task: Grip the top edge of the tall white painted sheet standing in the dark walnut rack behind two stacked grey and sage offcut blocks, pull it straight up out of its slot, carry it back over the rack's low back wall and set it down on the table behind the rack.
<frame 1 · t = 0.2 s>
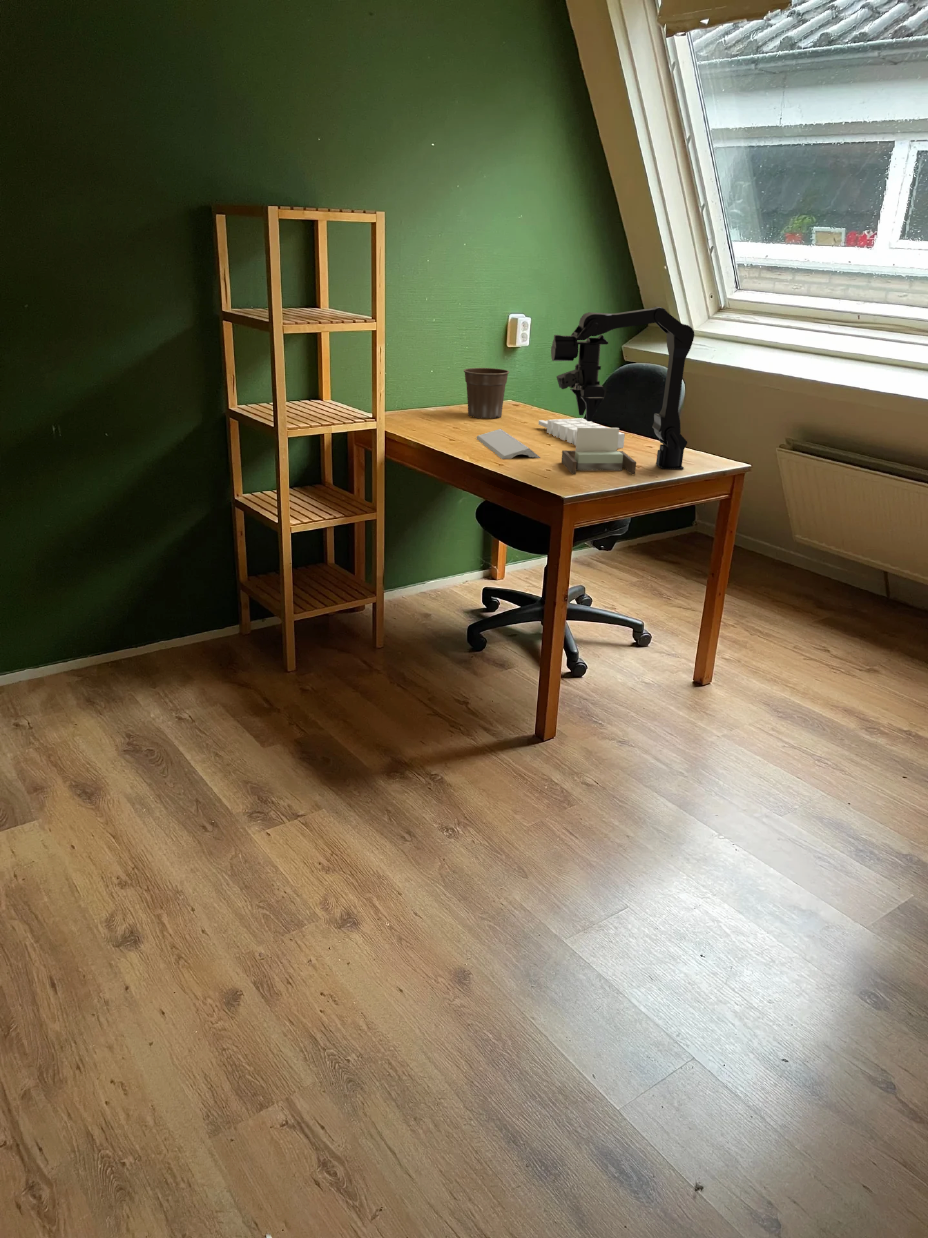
hand: (584, 418, 254), 14 cm above the table, tool pointing down, fingers open, 9 cm apart
organizer: (577, 439, 297), on the table
rack: (597, 468, 258), on the table
sheet: (594, 465, 261), resting in rack
offcut lower: (597, 470, 258), on the table, touching offcut upper
plant pot: (484, 416, 327), on the table
crown molding: (506, 450, 280), on the table
offcut upper: (598, 461, 257), point 2 cm above the table, touching offcut lower
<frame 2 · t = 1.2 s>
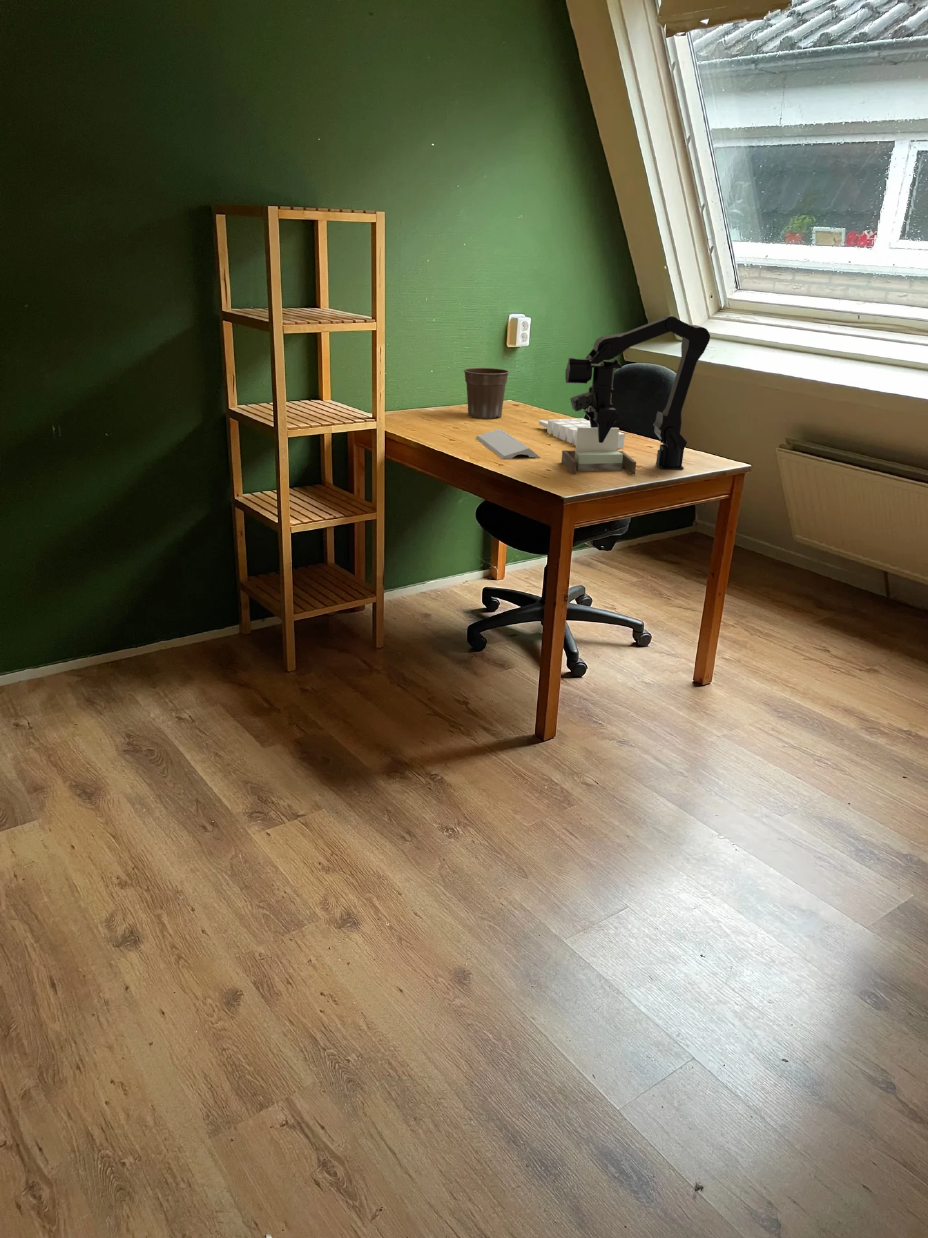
hand: (597, 439, 258), 8 cm above the table, tool pointing down, fingers open, 7 cm apart
nothing on the table moved.
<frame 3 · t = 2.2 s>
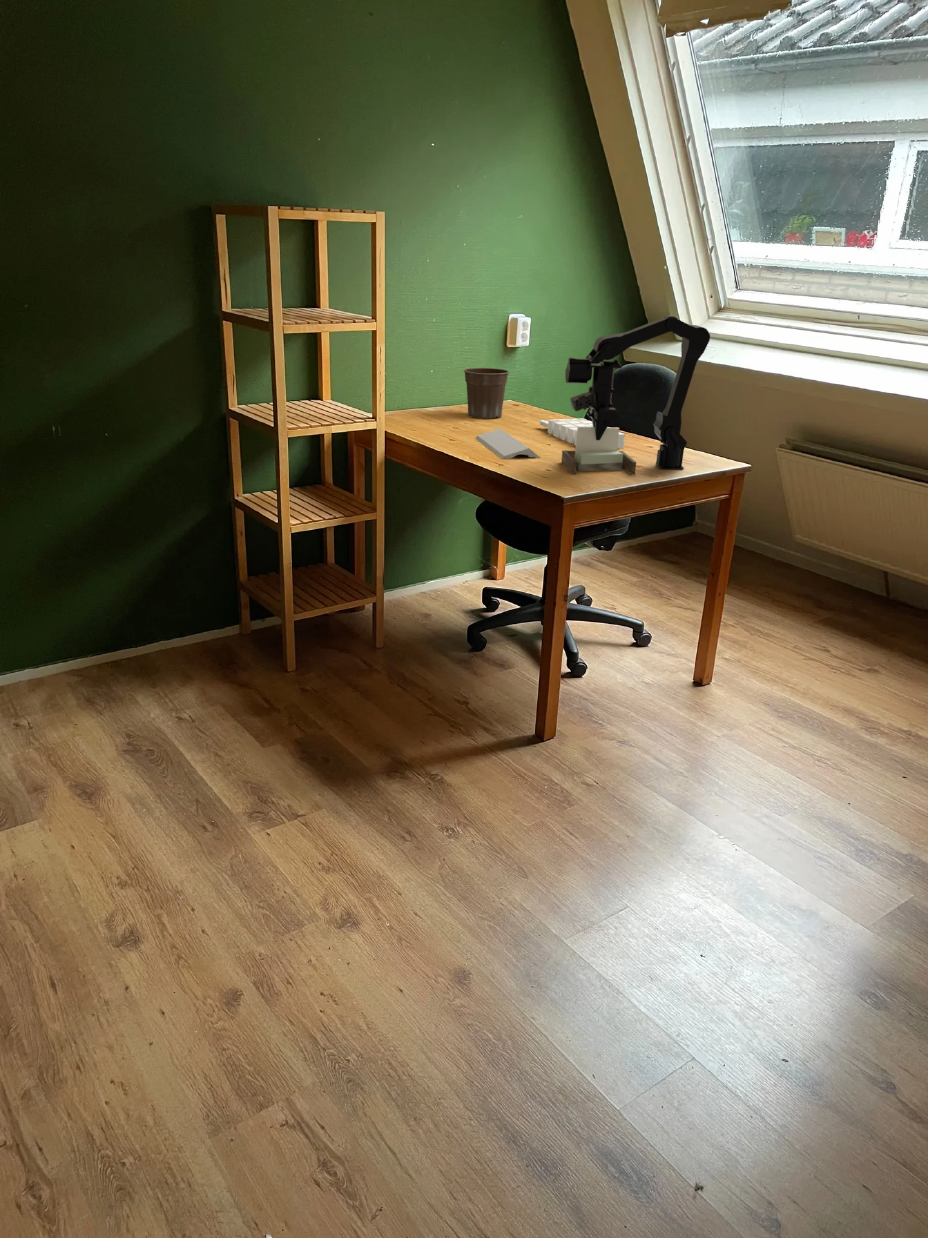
hand: (597, 439, 258), 8 cm above the table, tool pointing down, fingers closed on sheet, 1 cm apart
sheet: (594, 465, 261), resting in rack, touching gripper
everything else where it was.
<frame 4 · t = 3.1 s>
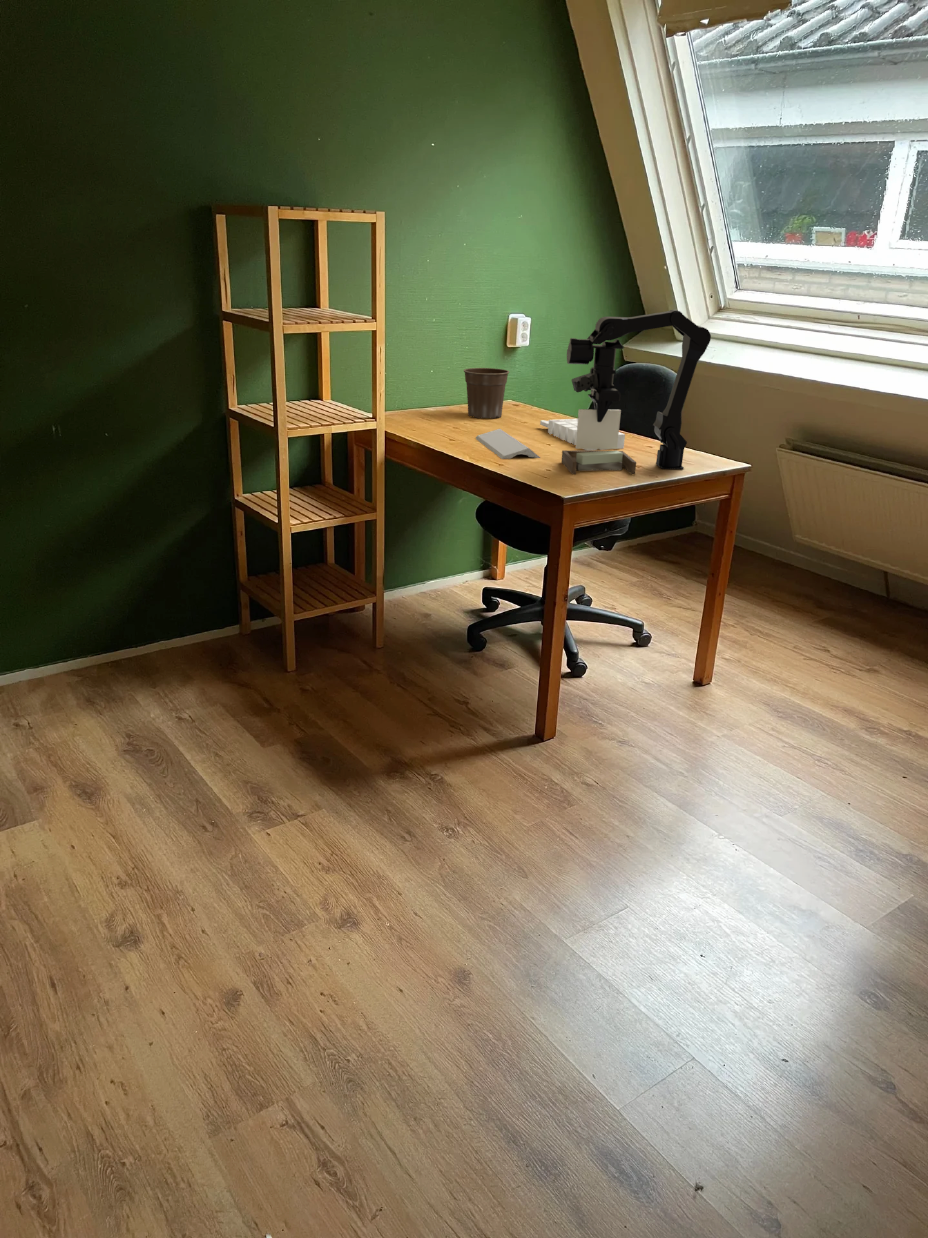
hand: (598, 421, 256), 13 cm above the table, tool pointing down, fingers closed on sheet
sheet: (596, 448, 259), point 5 cm above the table, touching gripper
offcut lower: (597, 470, 258), on the table
offcut upper: (599, 461, 257), point 2 cm above the table
everything else where it was.
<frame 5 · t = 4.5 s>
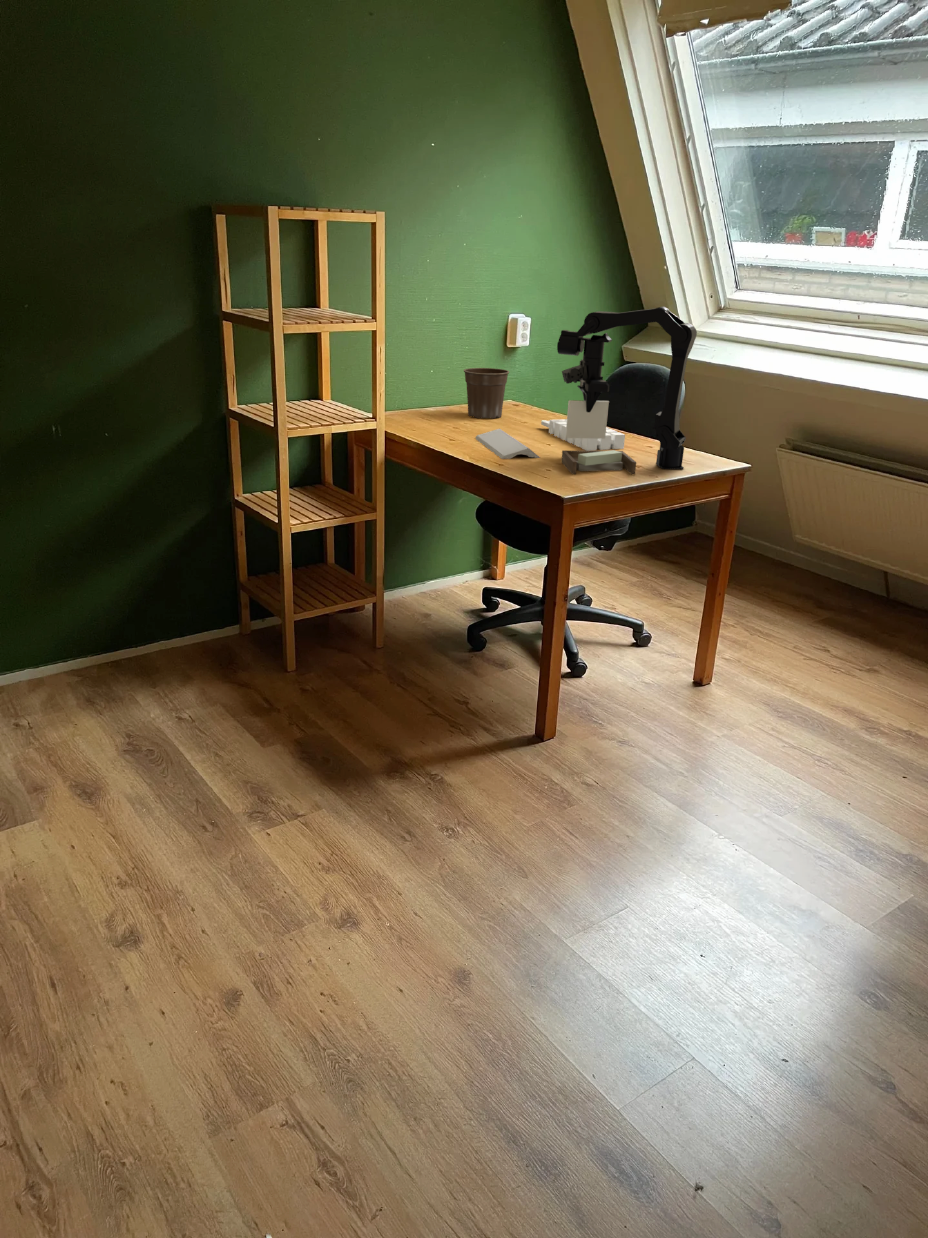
hand: (587, 411, 267), 13 cm above the table, tool pointing down, fingers closed on sheet
sheet: (585, 438, 270), point 5 cm above the table, touching gripper
offcut lower: (598, 470, 258), on the table, touching offcut upper
offcut upper: (599, 461, 257), point 2 cm above the table, touching offcut lower
everything else where it was.
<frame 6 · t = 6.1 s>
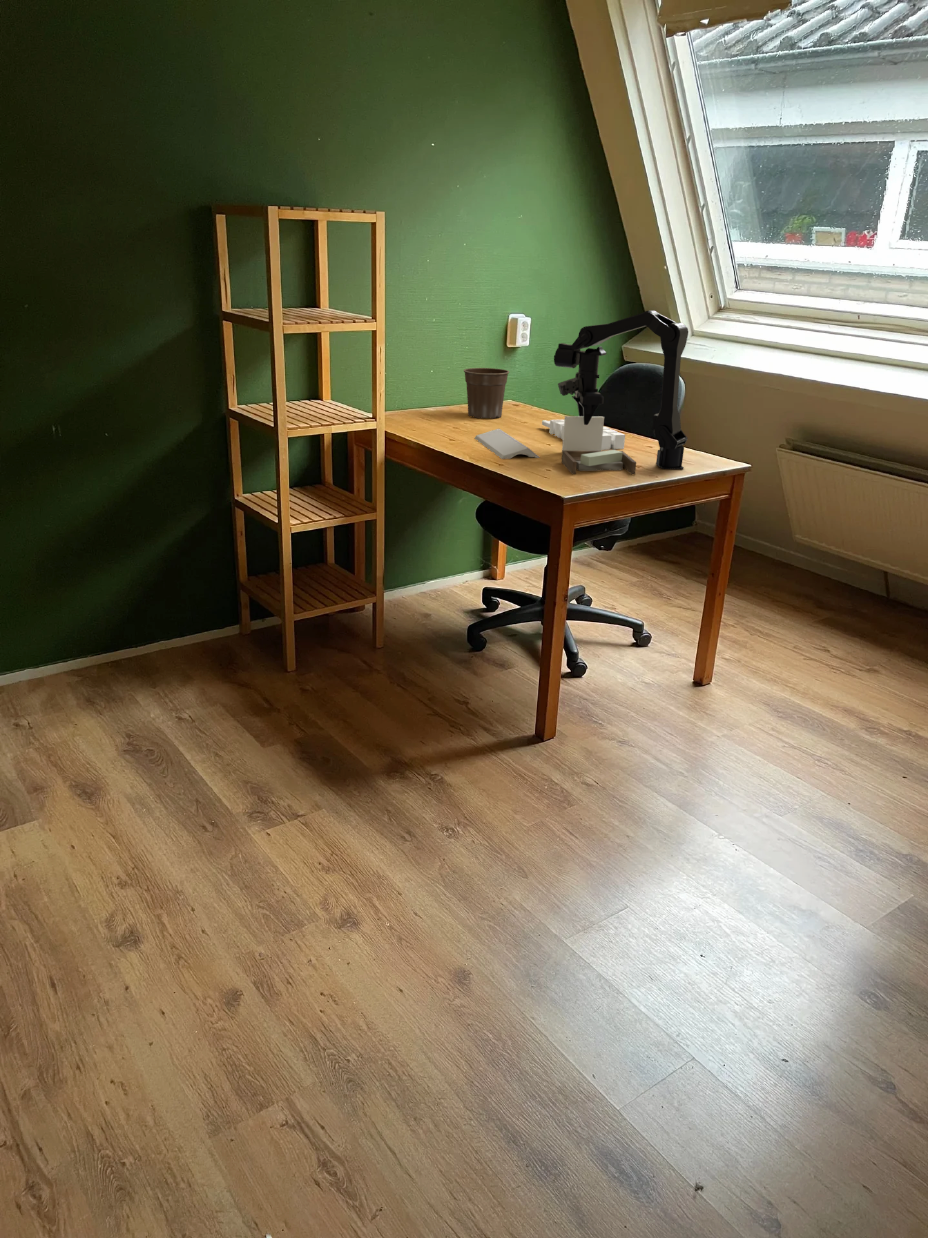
hand: (583, 422, 273), 9 cm above the table, tool pointing down, fingers open, 5 cm apart
sheet: (581, 452, 277), on the table
offcut upper: (601, 461, 257), point 2 cm above the table, touching offcut lower, rack
everything else where it was.
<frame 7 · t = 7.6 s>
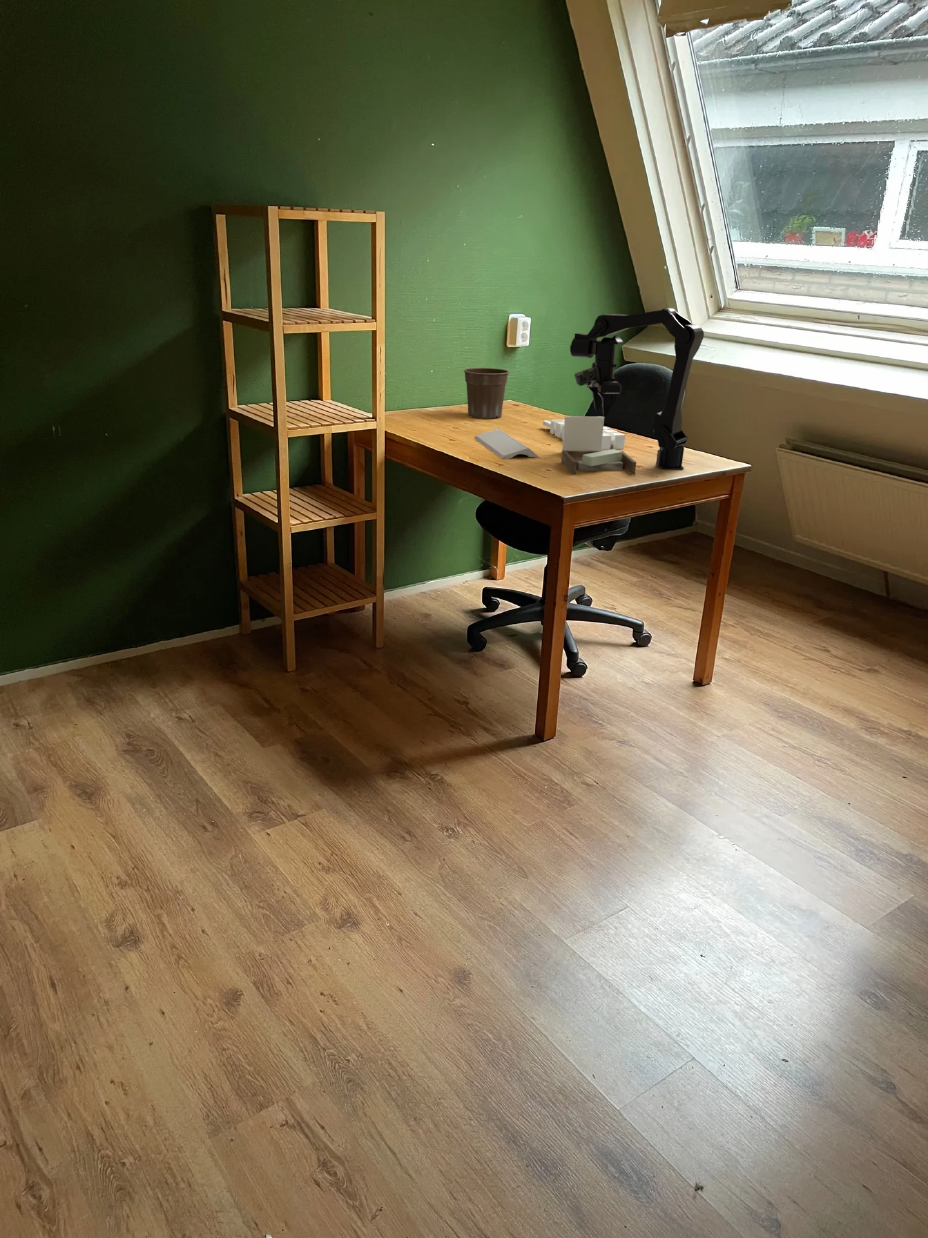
hand: (601, 413, 270), 12 cm above the table, tool pointing down, fingers open, 9 cm apart
offcut lower: (598, 470, 258), on the table
offcut upper: (602, 461, 257), point 2 cm above the table, touching rack
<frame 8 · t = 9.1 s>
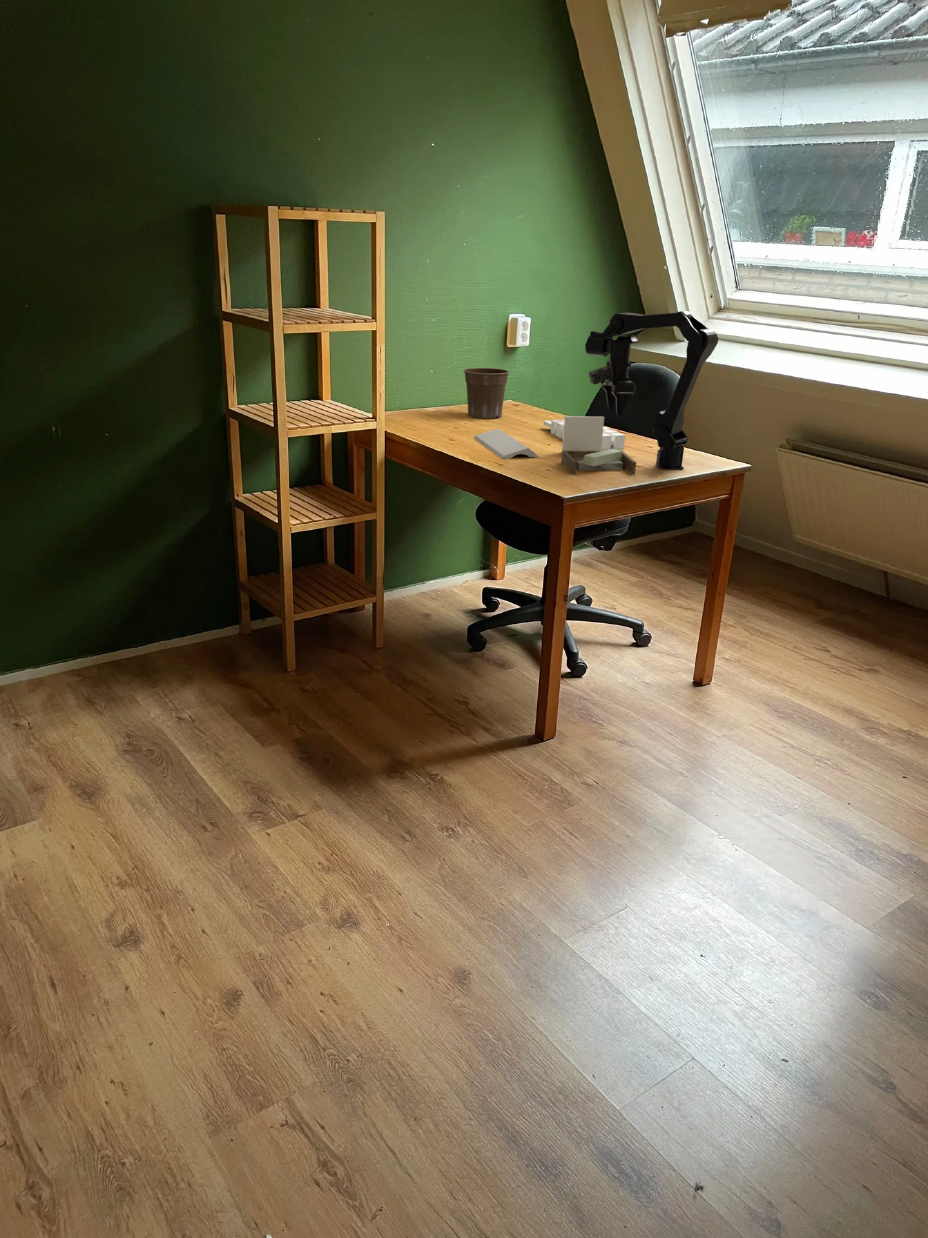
hand: (614, 412, 269), 13 cm above the table, tool pointing down, fingers open, 9 cm apart
offcut lower: (598, 470, 258), on the table, touching offcut upper
offcut upper: (602, 461, 257), point 2 cm above the table, touching offcut lower
at the end: sheet inside the target area (1.0 cm from its centre), on the table; the gripper is holding nothing; offcut upper moved 1.4 cm from its start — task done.
